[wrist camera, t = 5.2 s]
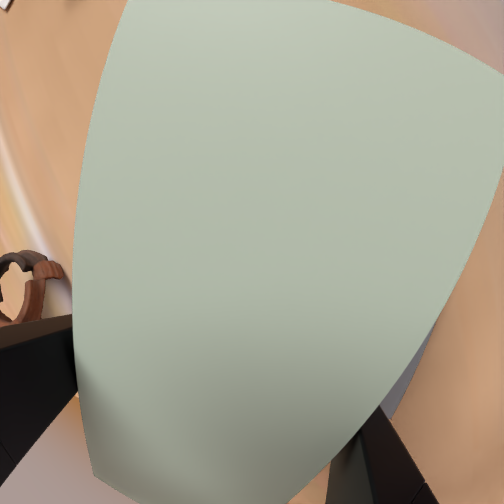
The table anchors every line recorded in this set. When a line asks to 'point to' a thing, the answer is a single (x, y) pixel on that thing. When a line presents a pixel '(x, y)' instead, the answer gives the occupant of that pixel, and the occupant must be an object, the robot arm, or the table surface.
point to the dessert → (4, 3)
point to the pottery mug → (30, 283)
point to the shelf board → (266, 236)
